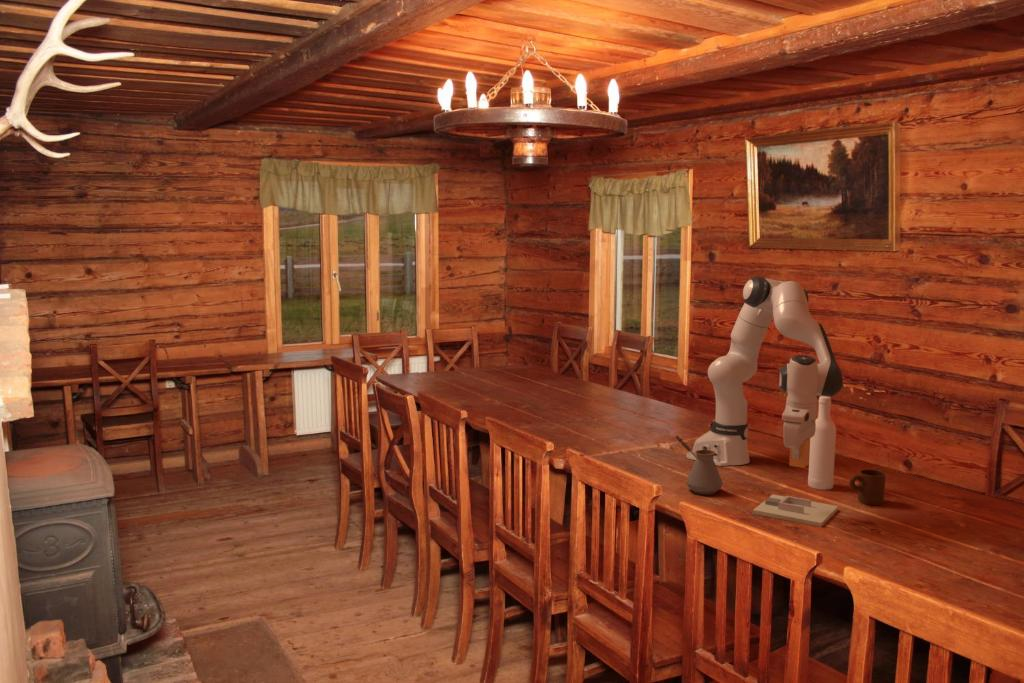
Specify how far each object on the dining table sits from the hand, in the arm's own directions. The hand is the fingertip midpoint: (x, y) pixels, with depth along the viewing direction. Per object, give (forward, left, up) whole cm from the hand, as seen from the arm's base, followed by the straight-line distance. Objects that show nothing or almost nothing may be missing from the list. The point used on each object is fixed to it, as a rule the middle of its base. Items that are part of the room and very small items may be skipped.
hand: (799, 456), depth 267 cm
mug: (+15, +21, -17) cm, 31 cm away
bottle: (-1, +30, -17) cm, 35 cm away
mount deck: (0, 0, -17) cm, 17 cm away
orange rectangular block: (0, 0, -3) cm, 3 cm away
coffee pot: (-35, +6, -17) cm, 40 cm away
